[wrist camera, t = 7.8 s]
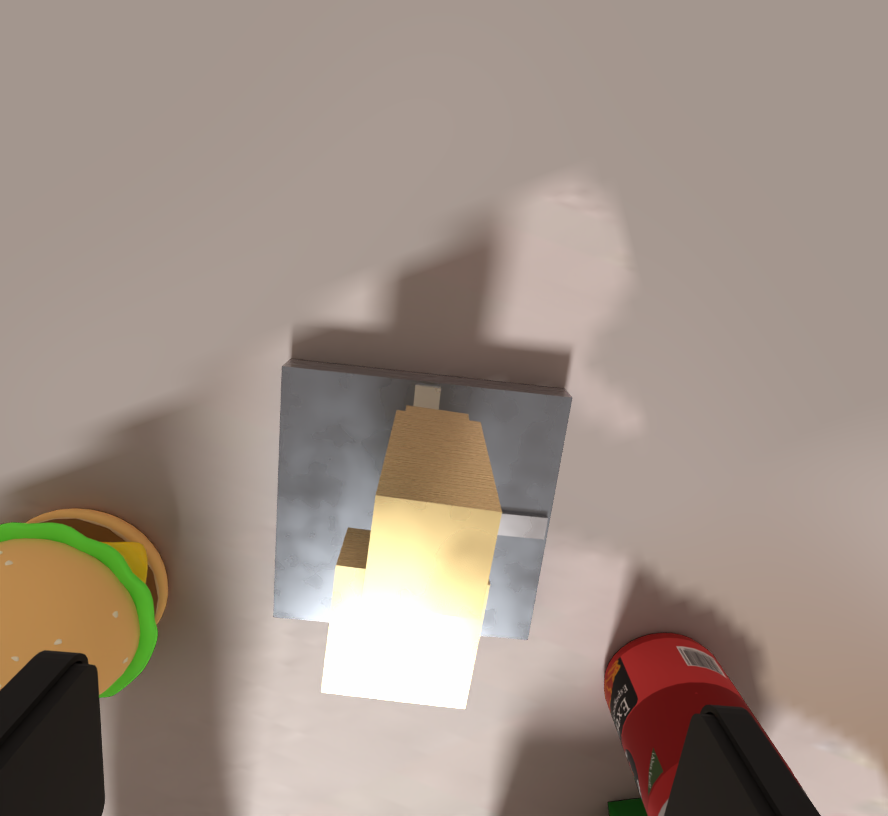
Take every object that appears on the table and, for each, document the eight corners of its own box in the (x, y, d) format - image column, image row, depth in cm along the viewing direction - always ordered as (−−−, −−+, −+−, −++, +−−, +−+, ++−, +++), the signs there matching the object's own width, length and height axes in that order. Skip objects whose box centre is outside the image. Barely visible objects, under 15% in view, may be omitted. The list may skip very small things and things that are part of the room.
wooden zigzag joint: (462, 658, 26) (475, 894, 17) (334, 642, 26) (273, 875, 16) (511, 404, 23) (564, 520, 13) (364, 383, 23) (311, 486, 13)
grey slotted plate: (281, 597, 37) (234, 705, 28) (291, 358, 32) (238, 400, 24) (523, 619, 38) (548, 731, 29) (564, 388, 33) (609, 439, 24)
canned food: (587, 648, 38) (644, 801, 28) (703, 613, 38) (806, 758, 27) (615, 732, 40) (678, 905, 30) (725, 701, 40) (829, 867, 29)
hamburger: (195, 505, 35) (120, 586, 27) (184, 662, 38) (114, 778, 30) (-3, 472, 34) (-144, 545, 26) (2, 636, 38) (-121, 746, 29)
